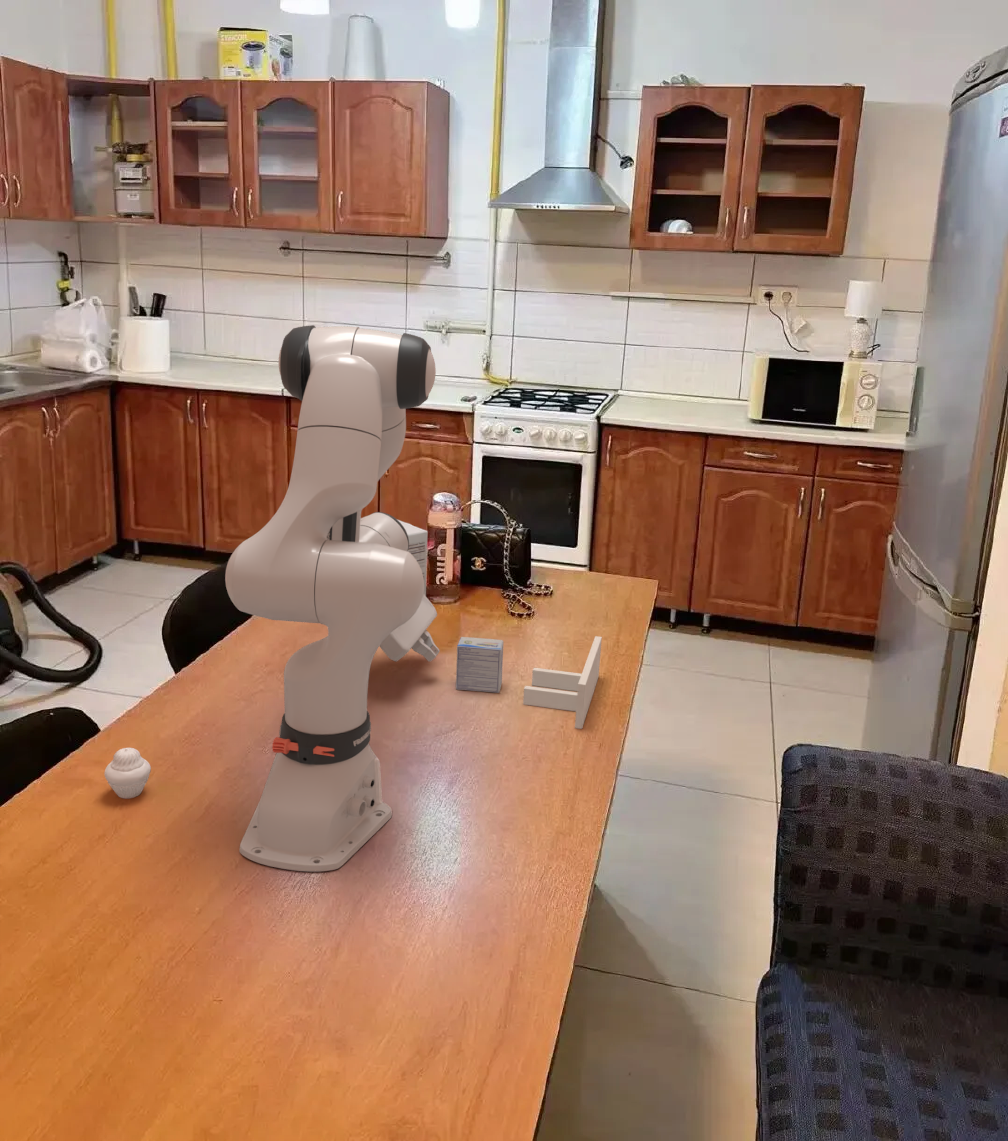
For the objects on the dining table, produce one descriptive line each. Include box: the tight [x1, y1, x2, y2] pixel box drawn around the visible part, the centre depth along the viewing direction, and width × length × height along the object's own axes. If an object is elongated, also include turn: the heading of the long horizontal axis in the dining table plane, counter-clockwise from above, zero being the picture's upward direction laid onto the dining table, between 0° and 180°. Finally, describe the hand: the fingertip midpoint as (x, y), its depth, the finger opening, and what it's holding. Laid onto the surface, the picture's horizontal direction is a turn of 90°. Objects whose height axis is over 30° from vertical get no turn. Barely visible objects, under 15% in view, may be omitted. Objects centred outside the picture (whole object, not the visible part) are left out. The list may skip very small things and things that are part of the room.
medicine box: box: [455, 636, 505, 694], centre depth 186 cm, size 8×4×9 cm, turn 84°
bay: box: [522, 635, 603, 730], centre depth 184 cm, size 22×11×8 cm, turn 168°
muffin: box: [104, 747, 152, 800], centre depth 147 cm, size 6×6×7 cm
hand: (435, 656), depth 188 cm, fingers closed
